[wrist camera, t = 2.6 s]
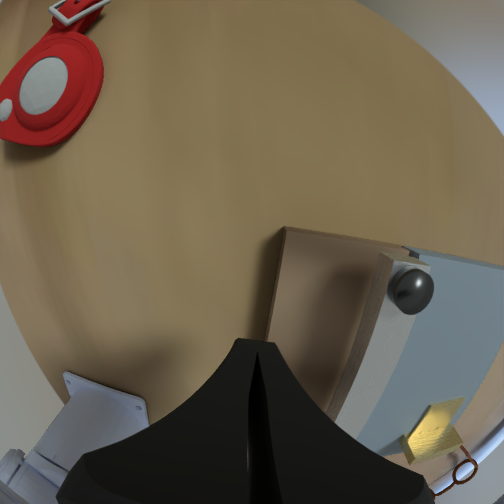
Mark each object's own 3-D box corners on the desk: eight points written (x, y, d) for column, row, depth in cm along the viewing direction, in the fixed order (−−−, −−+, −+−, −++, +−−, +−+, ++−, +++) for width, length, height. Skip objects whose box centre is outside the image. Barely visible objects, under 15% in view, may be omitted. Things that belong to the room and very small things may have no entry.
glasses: (407, 496, 24) (414, 515, 20) (378, 489, 22) (385, 515, 18) (471, 453, 22) (481, 471, 17) (458, 437, 20) (473, 461, 15)
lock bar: (338, 452, 15) (344, 477, 12) (295, 454, 15) (298, 480, 12) (422, 258, 11) (450, 273, 9) (366, 248, 11) (390, 264, 9)
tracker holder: (108, 123, 12) (-13, 175, 10) (124, 125, 16) (17, 164, 14) (106, -34, 7) (-13, 27, 5) (118, -8, 11) (13, 38, 9)
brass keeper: (445, 429, 16) (457, 449, 13) (398, 441, 16) (409, 465, 13) (469, 395, 15) (484, 414, 12) (423, 405, 15) (438, 430, 12)
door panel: (433, 430, 18) (440, 442, 17) (325, 446, 18) (328, 463, 16) (511, 268, 14) (526, 275, 12) (402, 245, 14) (419, 254, 12)
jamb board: (321, 446, 18) (325, 470, 16) (243, 443, 18) (241, 469, 16) (397, 244, 14) (422, 256, 11) (284, 226, 14) (290, 235, 11)
